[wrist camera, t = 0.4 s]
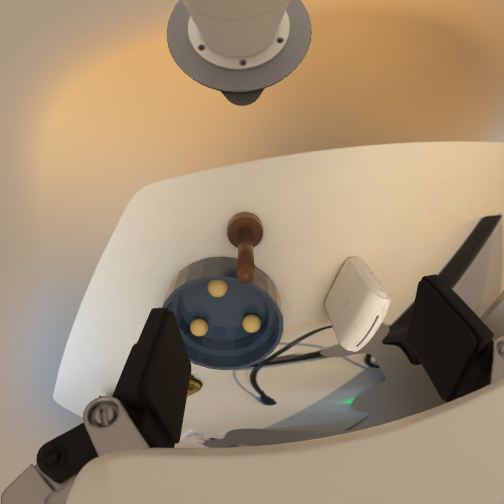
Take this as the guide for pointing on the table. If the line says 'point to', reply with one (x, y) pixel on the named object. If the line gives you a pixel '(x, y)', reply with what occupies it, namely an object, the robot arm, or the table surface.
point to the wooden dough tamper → (245, 243)
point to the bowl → (225, 315)
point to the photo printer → (356, 304)
